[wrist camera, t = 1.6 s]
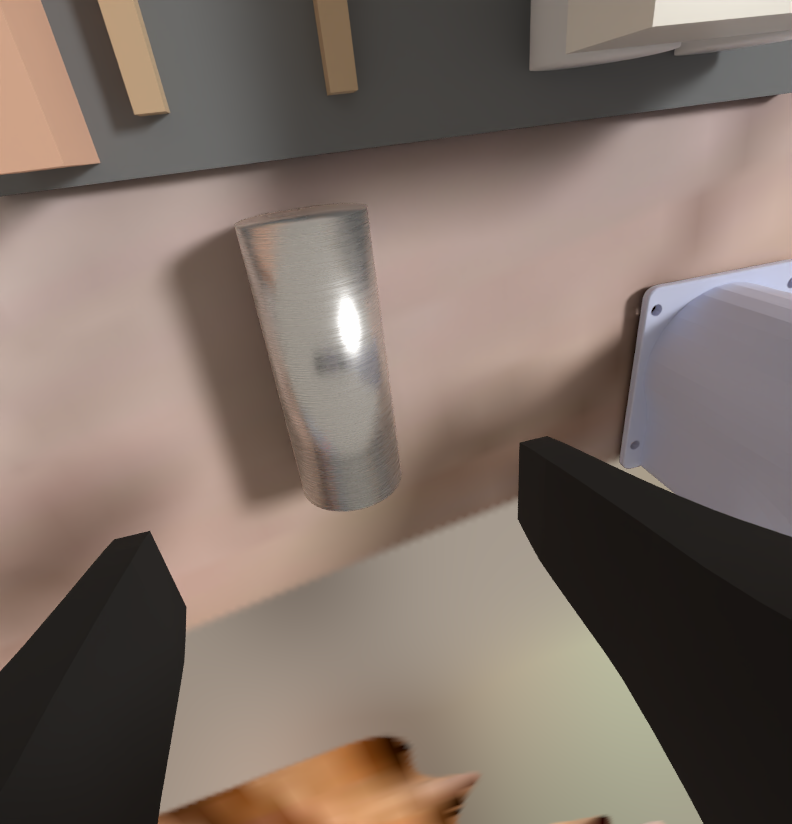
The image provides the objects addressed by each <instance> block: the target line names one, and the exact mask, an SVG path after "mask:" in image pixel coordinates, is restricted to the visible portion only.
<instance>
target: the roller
mask: <svg viewBox="0 0 792 824" xmlns="http://www.w3.org/2000/svg"><path fill="white" fill-rule="evenodd" d="M234 226H235V230H236V234H237V237H238V241H239V245H240V249H241V253H242V257H243V261H244V264H245V268H246V272H247V276H248V280H249V284H250V287H251V291H252V295H253V299H254V303H255V307H256V310H257V314H258V318H259V322H260V326H261V330H262V333H263V337H264V341H265V345H266V349H267V353H268V357H269V360H270V364H271V368H272V372H273V376H274V380H275V383H276V387H277V391H278V395H279V399H280V403H281V406H282V410H283V414H284V418H285V422H286V426H287V429H288V433H289V437H290V441H291V445H292V449H293V452H294V456H295V460H296V464H297V468H298V472H299V476H300V479H301V483H302V487H303V491H304V494H305V496H306V498H307V499H308V500H309V501H310V502H311V503H312V504H314V505H316V506H317V507H320V508H322V509H326V510H331V511H353V510H359V509H363V508H366V507H369V506H372V505H374V504H376V503H378V502H380V501H382V500H384V499H385V498H387V497H388V496H389V495H390V494H391V493H392V492H393V491H394V490H395V489H396V488H397V486H398V485H399V483H400V480H401V475H402V472H401V464H400V457H399V449H398V441H397V434H396V426H395V418H394V410H393V403H392V395H391V387H390V380H389V372H388V364H387V356H386V349H385V341H384V333H383V326H382V318H381V310H380V302H379V295H378V287H377V279H376V272H375V264H374V256H373V249H372V241H371V233H370V225H369V218H368V210H367V206H366V205H364V204H357V203H342V204H327V205H318V206H311V207H304V208H297V209H290V210H284V211H277V212H271V213H266V214H262V215H258V216H254V217H250V218H247V219H244V220H241V221H239V222H237V223H235V225H234Z"/></svg>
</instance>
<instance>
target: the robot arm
mask: <svg viewBox="0 0 792 824" xmlns="http://www.w3.org/2000/svg"><path fill="white" fill-rule="evenodd" d="M655 305H656V307H655V310H654V311H653V312H652V313H651V311H652V308H653V307H654V306H655ZM619 461H620V464H621V465H622V466H623V467H624V468H627V469H631V468H634V467H638V466H642V467H643V468H644V469H646V470H647V471H648V472H649V473H651V474H652V475H653V476H654V477H655V478H657V479H658V480H659V481H660V482H661V483H663V484H664V485H665V486H666V487H667V488H669V489H670V490H671V491H672V492H674V493H675V494H674V493H671V492H669V491H667V490H664V489H662V488H660V487H657V486H655V485H653V484H651V483H648V482H646V481H644V480H642V479H639V478H637V477H635V476H633V475H631V474H629V473H626V472H624V471H622V470H620V469H618V468H616V467H614V466H611V465H609V464H607V463H605V462H603V461H601V460H599V459H597V458H595V457H592V456H590V455H588V454H586V453H584V452H582V451H580V450H578V449H575V448H573V447H571V446H569V445H567V444H565V443H562V442H560V441H558V440H555V439H553V438H550V437H548V436H546V437H542V438H538V439H533V440H529V441H525V442H521V443H520V450H519V491H518V520H519V522H520V524H521V526H522V528H523V530H524V532H525V534H526V536H527V538H528V540H529V542H530V544H531V545H532V547H533V549H534V551H535V553H536V554H537V556H538V558H539V560H540V561H541V563H542V564H543V566H544V567H545V569H546V570H547V572H548V573H549V575H550V576H551V577H552V579H553V580H554V582H555V583H556V584H557V586H558V587H559V589H560V590H561V592H562V593H563V595H564V596H565V597H566V599H567V600H568V602H569V603H570V604H571V606H572V607H573V608H574V610H575V611H576V613H577V614H578V615H579V617H580V618H581V620H582V621H583V622H584V624H585V625H586V627H587V628H588V629H589V631H590V632H591V634H592V635H593V636H594V638H595V639H596V641H597V642H598V643H599V645H600V646H601V648H602V649H603V650H604V652H605V653H606V655H607V656H608V658H609V659H610V661H611V662H612V664H613V665H614V667H615V668H616V670H617V671H618V673H619V674H620V676H621V677H622V679H623V680H624V682H625V684H626V685H627V687H628V689H629V691H630V692H631V694H632V696H633V697H634V699H635V701H636V703H637V704H638V706H639V708H640V710H641V711H642V713H643V714H644V716H645V718H646V720H647V721H648V723H649V725H650V726H651V728H652V730H653V732H654V733H655V735H656V737H657V739H658V741H659V742H660V744H661V746H662V748H663V750H664V752H665V753H666V755H667V757H668V759H669V761H670V762H671V764H672V766H673V768H674V769H675V771H676V773H677V775H678V777H679V779H680V780H681V782H682V784H683V785H684V788H685V789H686V791H687V793H688V795H689V797H690V799H691V801H692V802H693V805H694V806H695V808H696V810H697V812H698V814H699V816H700V818H701V820H702V822H703V824H792V259H787V260H782V261H777V262H772V263H767V264H762V265H757V266H751V267H746V268H741V269H736V270H731V271H726V272H721V273H716V274H711V275H705V276H700V277H695V278H690V279H685V280H680V281H675V282H670V283H665V284H659V285H654V286H652V287H650V288H649V289H648V290H647V291H646V292H645V294H644V296H643V300H642V307H641V314H640V321H639V327H638V334H637V341H636V348H635V355H634V362H633V369H632V376H631V383H630V390H629V397H628V404H627V410H626V417H625V424H624V431H623V438H622V445H621V452H620V459H619ZM185 637H186V605H185V603H184V601H183V599H182V597H181V595H180V593H179V591H178V589H177V587H176V585H175V582H174V580H173V578H172V576H171V574H170V572H169V570H168V568H167V566H166V564H165V562H164V559H163V557H162V555H161V553H160V551H159V549H158V547H157V545H156V543H155V541H154V539H153V536H152V534H151V532H150V531H148V532H144V533H139V534H135V535H131V536H127V537H123V538H119V539H114V540H113V541H112V543H111V544H110V545H109V546H108V547H107V548H106V549H105V550H104V551H103V553H102V554H101V555H100V556H99V557H98V558H97V560H96V561H95V562H94V563H93V564H92V565H91V567H90V568H89V569H88V570H87V571H86V573H85V574H84V575H83V576H82V577H81V579H80V580H79V581H78V582H77V583H76V585H75V586H74V587H73V588H72V589H71V591H70V592H69V593H68V594H67V595H66V597H65V598H64V599H63V600H62V601H61V603H60V604H59V605H58V606H57V607H56V608H55V610H54V611H53V612H52V613H51V614H50V615H49V617H48V618H47V619H46V620H45V621H44V622H43V624H42V625H41V626H40V627H39V628H38V630H37V631H36V632H35V633H34V634H33V635H32V637H31V638H30V639H29V640H28V641H27V642H26V644H25V645H24V646H23V647H22V648H21V649H20V650H19V651H18V653H17V654H16V655H15V656H14V657H13V658H12V659H11V660H10V661H9V662H8V663H7V665H6V666H5V667H4V668H3V669H2V670H1V671H0V824H158V817H159V809H160V802H161V796H162V790H163V784H164V779H165V773H166V767H167V760H168V755H169V750H170V744H171V738H172V732H173V726H174V720H175V715H176V709H177V702H178V697H179V690H180V685H181V679H182V672H183V666H184V655H185Z"/></svg>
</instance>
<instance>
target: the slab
mask: <svg viewBox="0 0 792 824" xmlns="http://www.w3.org/2000/svg"><path fill="white" fill-rule="evenodd" d="M787 30H792V0H568V16H567V35H566V54H571V53H580V52H589V51H599V50H608V49H618V48H627V47H636V46H646V45H655V44H665V43H674V42H683V41H693V40H702V39H712V38H721V37H730V36H740V35H749V34H759V33H768V32H777V31H787Z"/></svg>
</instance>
